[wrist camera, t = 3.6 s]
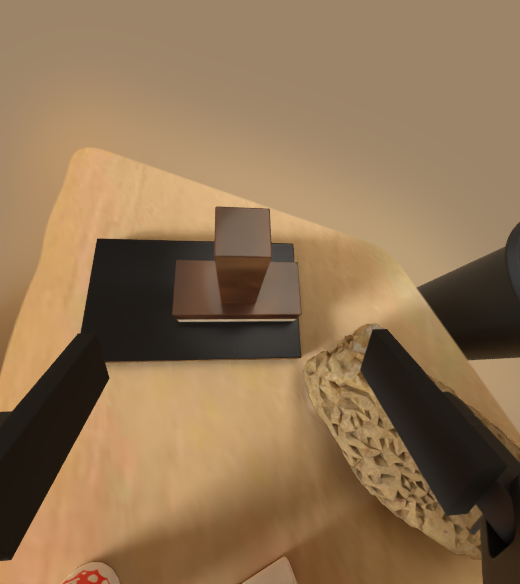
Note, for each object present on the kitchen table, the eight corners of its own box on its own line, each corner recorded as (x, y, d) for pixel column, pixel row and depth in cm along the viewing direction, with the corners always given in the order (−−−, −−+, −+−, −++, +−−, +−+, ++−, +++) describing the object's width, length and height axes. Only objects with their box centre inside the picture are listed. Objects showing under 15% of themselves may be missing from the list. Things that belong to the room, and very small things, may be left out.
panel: (290, 249, 30) (293, 243, 28) (297, 358, 26) (301, 357, 25) (103, 245, 28) (96, 238, 26) (84, 363, 24) (75, 362, 23)
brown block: (290, 273, 27) (336, 196, 15) (293, 321, 26) (347, 276, 14) (182, 272, 26) (140, 186, 14) (178, 322, 25) (129, 273, 13)
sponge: (280, 383, 26) (440, 631, 19) (303, 357, 20) (561, 721, 12) (367, 326, 32) (519, 501, 24) (407, 291, 25) (633, 515, 17)
